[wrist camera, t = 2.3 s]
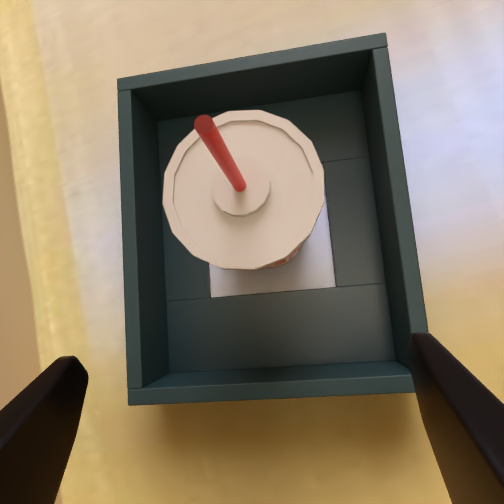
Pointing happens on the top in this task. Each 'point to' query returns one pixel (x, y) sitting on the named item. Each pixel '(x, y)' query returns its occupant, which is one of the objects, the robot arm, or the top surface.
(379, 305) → the crate
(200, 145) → the beverage cup
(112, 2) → the top surface
